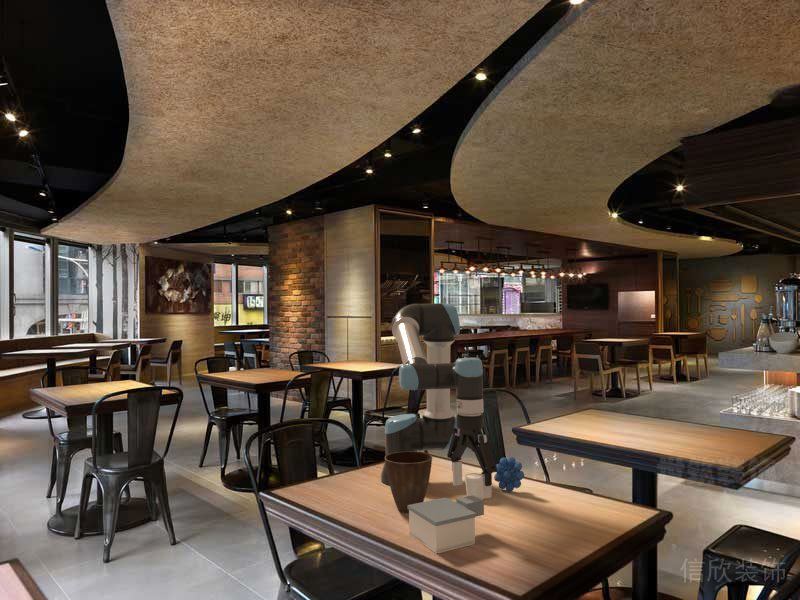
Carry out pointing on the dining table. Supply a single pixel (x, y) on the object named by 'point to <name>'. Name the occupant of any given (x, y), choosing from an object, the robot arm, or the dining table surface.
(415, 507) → the lid
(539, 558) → the dining table surface
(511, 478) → the grapes
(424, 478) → the plant pot
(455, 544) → the tub
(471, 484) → the beige cup
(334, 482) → the dining table surface
